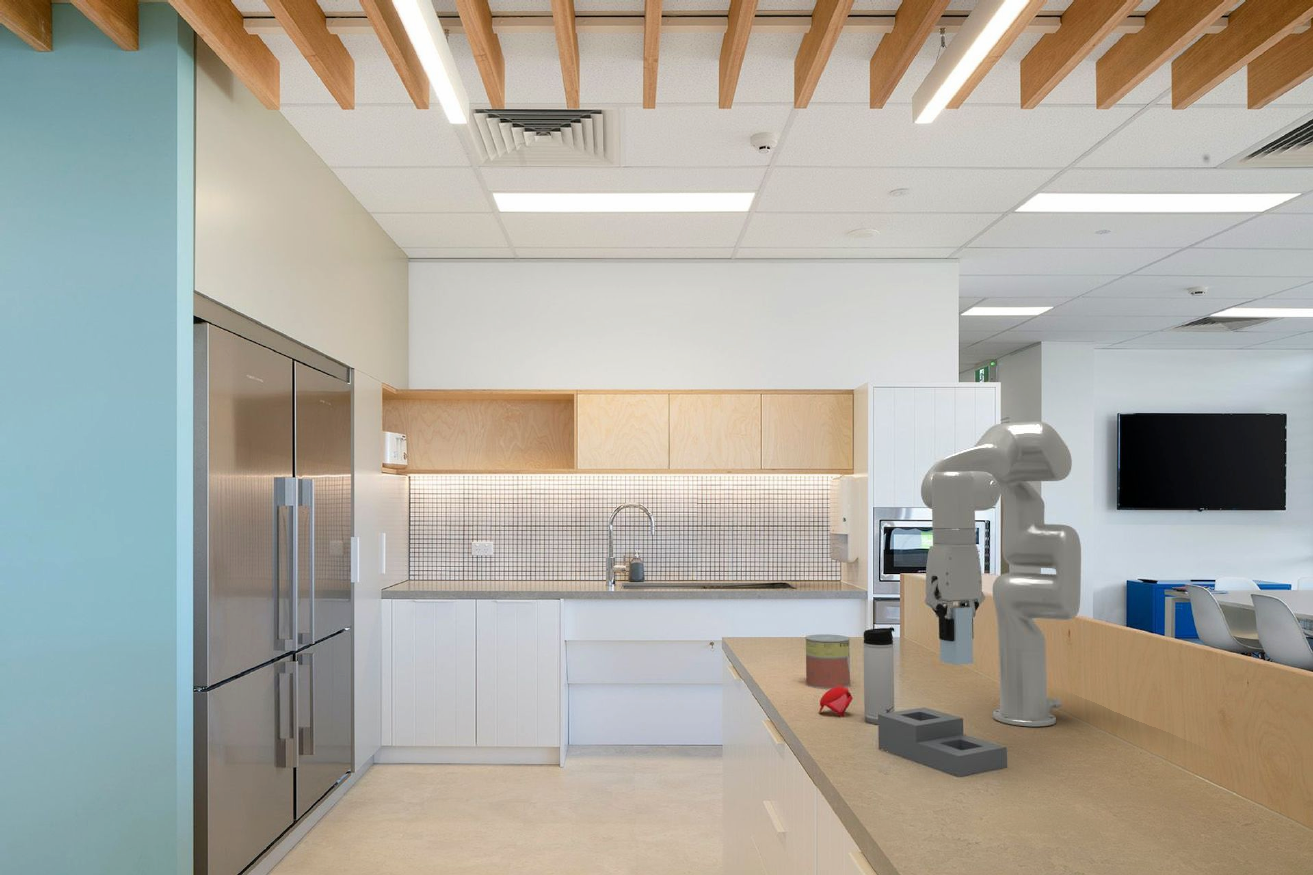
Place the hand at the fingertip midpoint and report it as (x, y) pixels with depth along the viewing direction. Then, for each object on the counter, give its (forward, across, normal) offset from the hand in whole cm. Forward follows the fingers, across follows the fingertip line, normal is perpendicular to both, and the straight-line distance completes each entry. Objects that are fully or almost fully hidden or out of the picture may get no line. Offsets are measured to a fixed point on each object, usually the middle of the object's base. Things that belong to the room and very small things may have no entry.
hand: (956, 638), depth 165 cm
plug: (+4, 0, 0) cm, 4 cm away
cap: (+23, -5, -41) cm, 47 cm away
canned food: (+22, -23, -67) cm, 74 cm away
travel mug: (+23, -9, -31) cm, 39 cm away
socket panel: (+22, 0, -4) cm, 23 cm away
